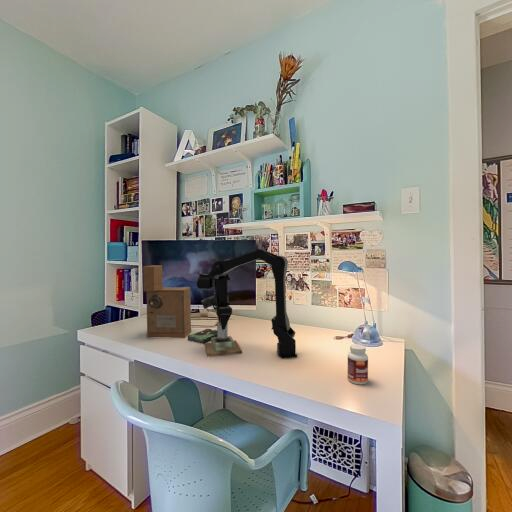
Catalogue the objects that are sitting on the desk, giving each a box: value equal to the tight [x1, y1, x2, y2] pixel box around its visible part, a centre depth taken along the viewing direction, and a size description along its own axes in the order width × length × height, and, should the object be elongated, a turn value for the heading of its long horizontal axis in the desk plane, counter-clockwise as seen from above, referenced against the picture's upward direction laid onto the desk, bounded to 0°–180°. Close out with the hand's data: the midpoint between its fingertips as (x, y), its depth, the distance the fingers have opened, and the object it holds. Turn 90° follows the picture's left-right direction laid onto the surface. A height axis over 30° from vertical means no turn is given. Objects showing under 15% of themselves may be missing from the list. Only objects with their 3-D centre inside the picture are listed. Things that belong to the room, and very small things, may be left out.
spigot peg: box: [216, 321, 229, 343], centre depth 121 cm, size 4×4×10 cm
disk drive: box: [187, 328, 217, 345], centre depth 137 cm, size 10×3×15 cm
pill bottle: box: [347, 343, 369, 386], centre depth 91 cm, size 6×6×11 cm
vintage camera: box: [142, 264, 192, 339], centre depth 141 cm, size 19×14×35 cm
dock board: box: [204, 335, 243, 358], centre depth 121 cm, size 14×14×4 cm
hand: (221, 326), depth 121 cm, fingers open, 9 cm apart
